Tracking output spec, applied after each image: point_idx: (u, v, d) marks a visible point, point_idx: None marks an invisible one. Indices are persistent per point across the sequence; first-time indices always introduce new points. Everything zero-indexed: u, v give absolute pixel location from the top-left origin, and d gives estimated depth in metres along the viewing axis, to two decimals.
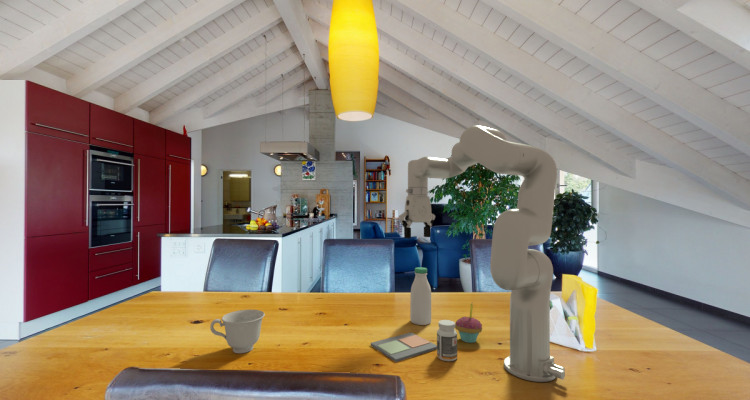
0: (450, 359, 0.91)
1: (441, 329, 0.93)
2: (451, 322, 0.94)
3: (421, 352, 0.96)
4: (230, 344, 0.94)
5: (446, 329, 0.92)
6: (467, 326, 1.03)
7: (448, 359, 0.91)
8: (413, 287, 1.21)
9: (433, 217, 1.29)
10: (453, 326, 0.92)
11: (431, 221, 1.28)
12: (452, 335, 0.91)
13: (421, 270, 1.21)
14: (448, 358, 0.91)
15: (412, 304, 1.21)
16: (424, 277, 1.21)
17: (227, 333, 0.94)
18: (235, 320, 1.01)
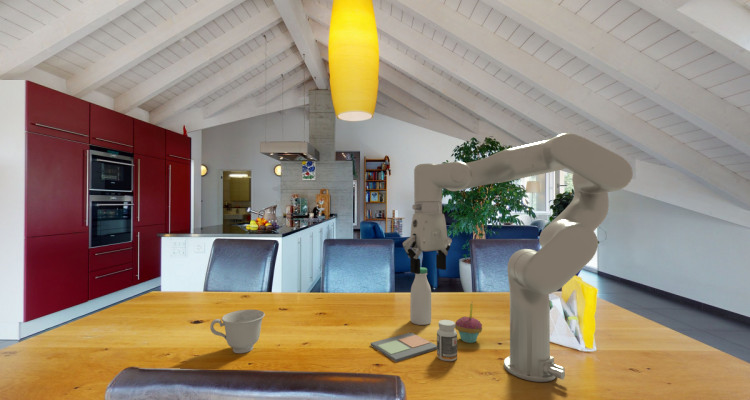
0: (450, 359, 0.91)
1: (441, 329, 0.93)
2: (451, 322, 0.94)
3: (421, 352, 0.96)
4: (230, 344, 0.94)
5: (446, 329, 0.92)
6: (467, 326, 1.03)
7: (448, 359, 0.91)
8: (413, 287, 1.21)
9: (449, 241, 0.94)
10: (453, 326, 0.92)
11: (446, 247, 0.93)
12: (452, 335, 0.91)
13: (421, 270, 1.21)
14: (448, 358, 0.91)
15: (412, 304, 1.21)
16: (424, 277, 1.21)
17: (227, 333, 0.94)
18: (235, 320, 1.01)
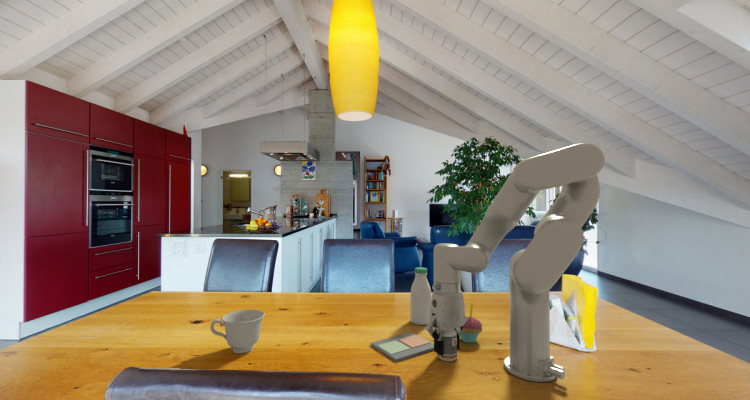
0: (450, 359, 0.91)
1: None
2: None
3: (421, 352, 0.96)
4: (230, 344, 0.94)
5: None
6: (467, 326, 1.03)
7: (448, 359, 0.91)
8: (413, 287, 1.21)
9: None
10: None
11: None
12: (452, 335, 0.91)
13: (421, 270, 1.21)
14: (448, 358, 0.91)
15: (412, 304, 1.21)
16: (424, 277, 1.21)
17: (227, 333, 0.94)
18: (235, 320, 1.01)
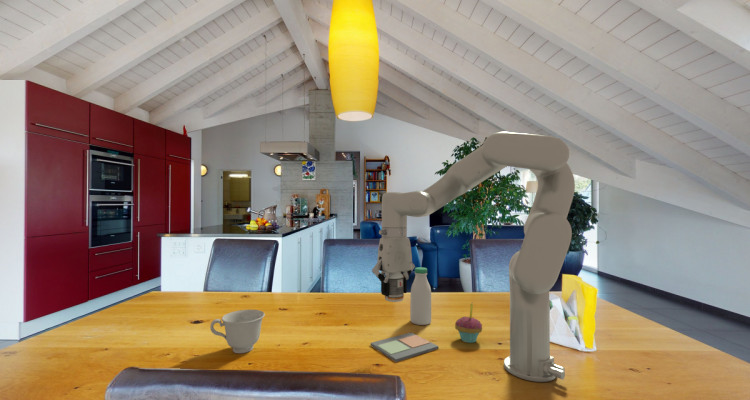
0: (395, 299, 0.96)
1: None
2: None
3: (421, 352, 0.96)
4: (230, 344, 0.94)
5: None
6: (467, 326, 1.03)
7: (393, 299, 0.96)
8: (413, 287, 1.21)
9: (412, 267, 1.02)
10: None
11: (408, 271, 1.01)
12: (397, 277, 0.96)
13: (421, 270, 1.21)
14: (393, 299, 0.96)
15: (412, 304, 1.21)
16: (424, 277, 1.21)
17: (227, 333, 0.94)
18: (235, 320, 1.01)
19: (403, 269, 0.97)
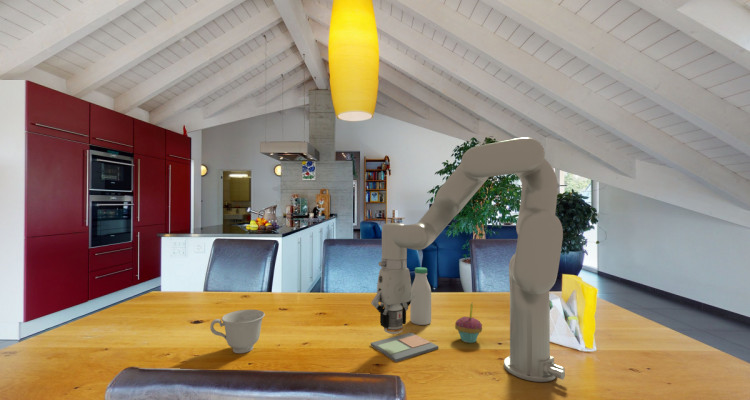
0: (395, 331, 0.95)
1: None
2: None
3: (421, 352, 0.96)
4: (230, 344, 0.94)
5: None
6: (467, 326, 1.03)
7: (393, 332, 0.95)
8: (413, 287, 1.21)
9: (411, 297, 1.01)
10: None
11: (407, 302, 1.00)
12: (397, 309, 0.96)
13: (421, 270, 1.21)
14: (393, 331, 0.95)
15: (412, 304, 1.21)
16: (424, 277, 1.21)
17: (227, 333, 0.94)
18: (235, 320, 1.01)
19: (402, 301, 0.97)
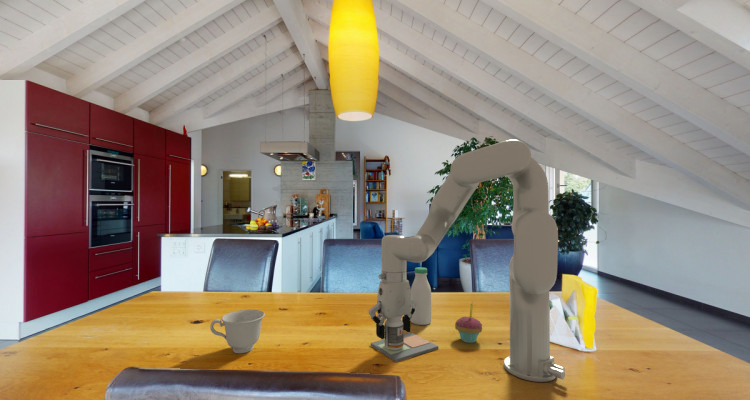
0: (395, 348, 0.95)
1: (388, 320, 0.97)
2: None
3: (421, 352, 0.96)
4: (230, 344, 0.94)
5: (392, 319, 0.96)
6: (467, 326, 1.03)
7: (393, 348, 0.95)
8: (413, 287, 1.21)
9: (414, 305, 1.02)
10: (399, 316, 0.96)
11: (411, 310, 1.01)
12: (397, 325, 0.96)
13: (421, 270, 1.21)
14: (393, 347, 0.95)
15: None
16: (424, 277, 1.21)
17: (227, 333, 0.94)
18: (235, 320, 1.01)
19: (403, 313, 0.97)
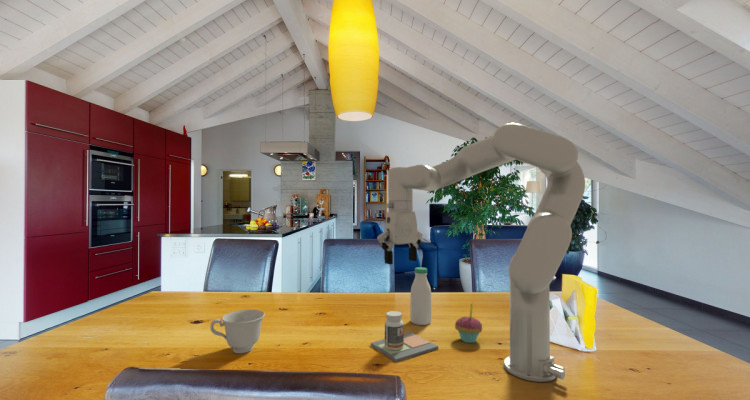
0: (395, 348, 0.95)
1: (388, 320, 0.97)
2: (398, 313, 0.98)
3: (421, 352, 0.96)
4: (230, 344, 0.94)
5: (392, 319, 0.96)
6: (467, 326, 1.03)
7: (393, 348, 0.95)
8: (413, 287, 1.21)
9: (420, 236, 1.06)
10: (399, 316, 0.96)
11: (417, 241, 1.05)
12: (397, 325, 0.96)
13: (421, 270, 1.21)
14: (393, 347, 0.95)
15: (412, 304, 1.21)
16: (424, 277, 1.21)
17: (227, 333, 0.94)
18: (235, 320, 1.01)
19: (410, 241, 1.01)
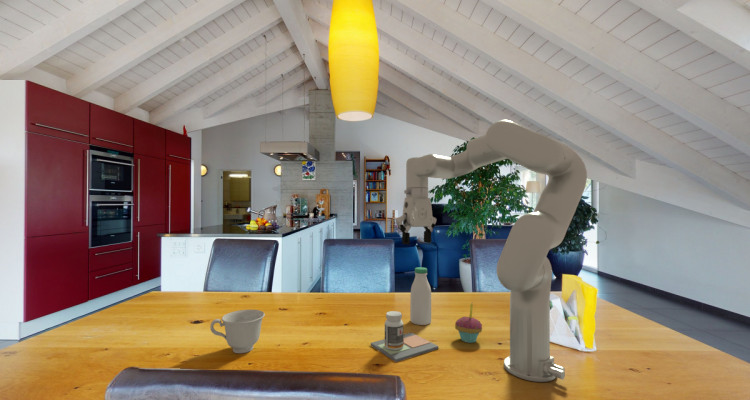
0: (395, 348, 0.95)
1: (388, 320, 0.97)
2: (398, 313, 0.98)
3: (421, 352, 0.96)
4: (230, 344, 0.94)
5: (392, 319, 0.96)
6: (467, 326, 1.03)
7: (393, 348, 0.95)
8: (413, 287, 1.21)
9: (434, 221, 1.17)
10: (399, 316, 0.96)
11: (432, 225, 1.16)
12: (397, 325, 0.96)
13: (421, 270, 1.21)
14: (393, 347, 0.95)
15: (412, 304, 1.21)
16: (424, 277, 1.21)
17: (227, 333, 0.94)
18: (235, 320, 1.01)
19: (425, 224, 1.11)
